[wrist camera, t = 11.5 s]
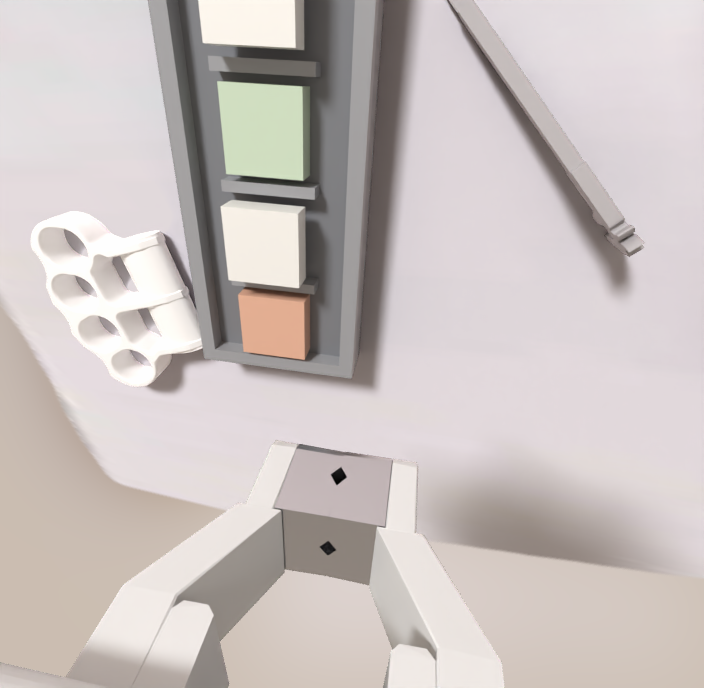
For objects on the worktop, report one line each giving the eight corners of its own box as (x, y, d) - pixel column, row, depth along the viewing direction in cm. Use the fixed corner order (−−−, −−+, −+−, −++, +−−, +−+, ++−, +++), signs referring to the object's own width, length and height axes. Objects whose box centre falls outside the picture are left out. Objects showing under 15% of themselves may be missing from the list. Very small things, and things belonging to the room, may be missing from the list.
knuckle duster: (228, 360, 46) (116, 375, 50) (151, 190, 37) (24, 223, 41) (214, 379, 43) (97, 392, 47) (128, 199, 34) (-7, 233, 38)
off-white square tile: (305, 206, 31) (297, 213, 29) (305, 278, 34) (299, 288, 32) (231, 199, 32) (220, 206, 30) (238, 270, 35) (228, 280, 33)
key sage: (310, 86, 28) (302, 86, 27) (310, 175, 31) (303, 180, 30) (229, 81, 29) (217, 81, 27) (237, 169, 32) (226, 174, 30)
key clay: (310, 292, 36) (304, 302, 34) (310, 348, 39) (304, 359, 37) (246, 285, 37) (238, 294, 35) (251, 340, 40) (243, 351, 38)
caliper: (620, 230, 33) (657, 258, 28) (605, 239, 33) (639, 269, 28) (458, -18, 27) (465, -44, 22) (443, -2, 27) (447, -24, 22)
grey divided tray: (390, -94, 25) (383, -126, 22) (358, 353, 42) (351, 380, 38) (170, -98, 27) (127, -128, 23) (224, 336, 44) (204, 360, 40)
